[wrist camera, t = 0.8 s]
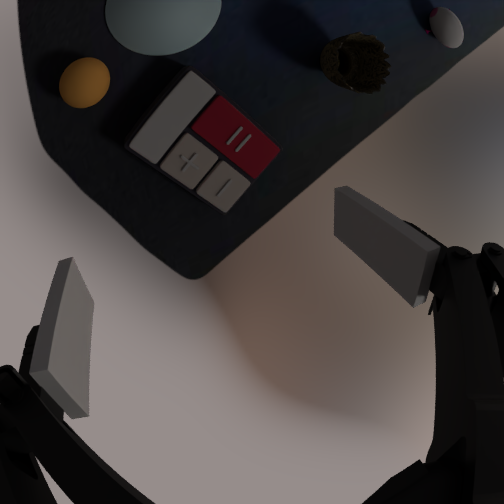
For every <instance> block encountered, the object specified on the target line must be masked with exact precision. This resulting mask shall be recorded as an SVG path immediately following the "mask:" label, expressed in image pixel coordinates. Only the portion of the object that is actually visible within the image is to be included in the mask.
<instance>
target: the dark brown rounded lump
mask: <svg viewBox="0 0 504 504" xmlns="http://www.w3.org/2000/svg"><path fill="white" fill-rule="evenodd" d="M384 48H385V45H384V44H383V43H382V42H380V41H379V40H376V36H374V35H364V34H361V32H356V33H353V34H349V35H345V36H342V37H339V38H336V39H334V40H332V41H331V42H329V43H328V44H327V45H326V46H325V47H324V49H323V50H322V53H321V56H320V58H319V64H320V67H321V69H322V71H323V73H324V74H325V76H326V77H327V78H328V79H329V80H330V81H331V82H333V83H334V84H336V85H338V86H340V87H343V88H346V89H349V90H352V91H355V92H357V93H368V94H372V92H379V91H380V90H381V86H380V85H381V84H382V85H383V84H386V81H385V80H384V79H382V78H385V77H386V76H388V75H389V74H390V72H389V71H388V69H389V68H390V67H391V66H390V64H389V63H388V62H387V61H385V60H384V59H386V58H389V55H388V54H386V53H384V51H383V50H384Z"/></svg>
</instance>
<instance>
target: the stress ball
mask: <svg viewBox="0 0 504 504" xmlns="http://www.w3.org/2000/svg"><path fill="white" fill-rule="evenodd" d="M429 22H430V27H431V30H432V32H433V34H434V35H435V37H436V38H437V39H438V41H439V42H440V43H442V44H443V45H445V46H446V47H449V48H456V47H458V46H460V45H461V43H462V42H463V37H464V33H463V28H462V25H461V23H460V21H459V19H458V18H457V16H456V15H455V14H454V13H453V12H452V11H450V9H447V8H444V7H436V8H434V9H433V10H432V11H431V13H430V17H429ZM429 32H430V31H428V30H426V33H427V34H428V33H429Z"/></svg>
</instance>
